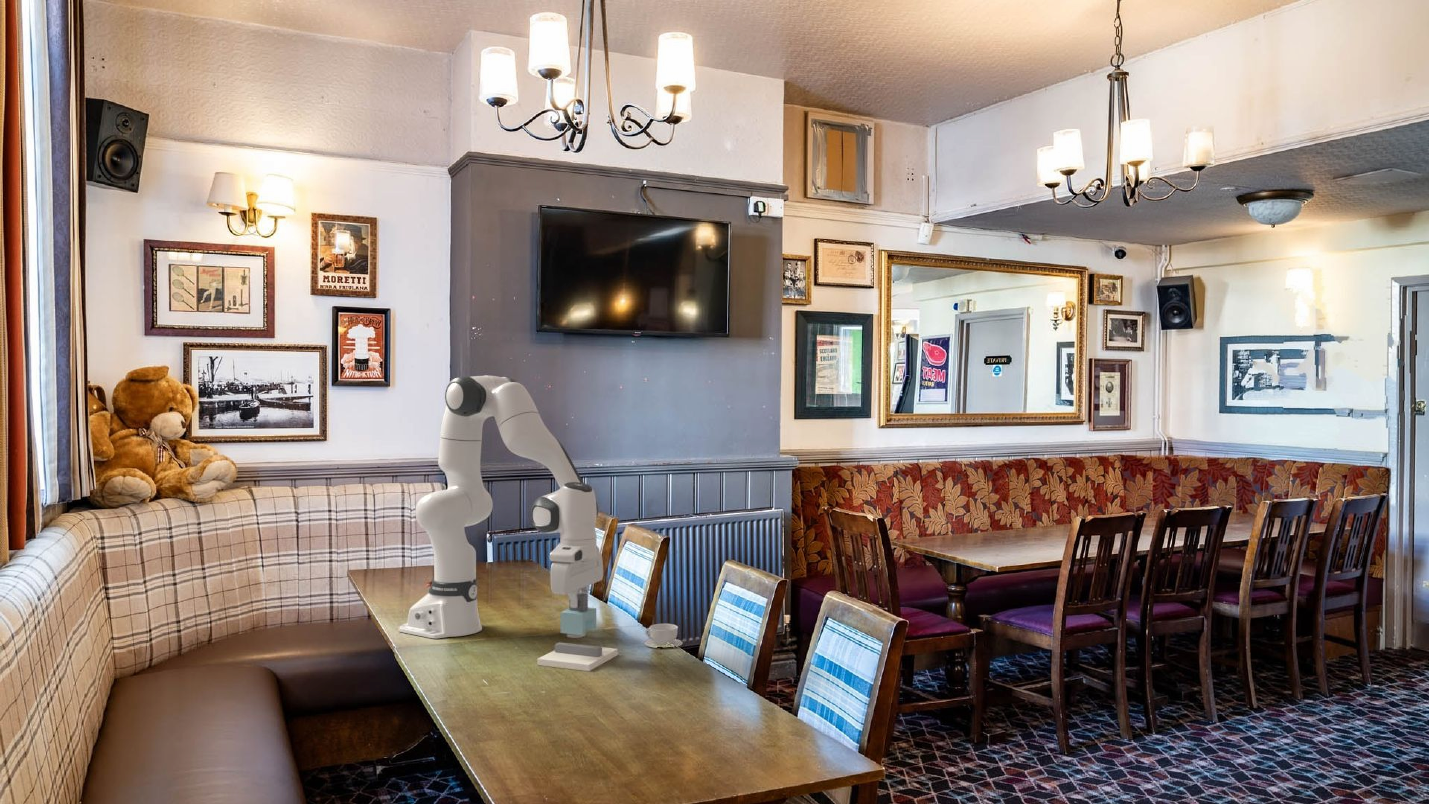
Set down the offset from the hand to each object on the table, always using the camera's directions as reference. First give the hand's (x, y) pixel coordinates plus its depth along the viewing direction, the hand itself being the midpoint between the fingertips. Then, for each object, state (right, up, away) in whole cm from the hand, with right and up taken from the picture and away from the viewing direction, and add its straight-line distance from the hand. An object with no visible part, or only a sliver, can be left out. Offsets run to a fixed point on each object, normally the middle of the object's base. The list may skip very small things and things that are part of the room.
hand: (578, 605), depth 239 cm
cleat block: (0, -6, 0) cm, 6 cm away
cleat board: (0, -13, 0) cm, 13 cm away
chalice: (-4, -13, +24) cm, 27 cm away
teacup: (+20, -14, +15) cm, 29 cm away
